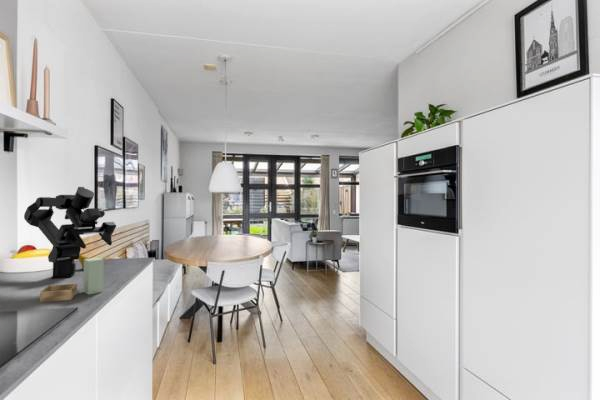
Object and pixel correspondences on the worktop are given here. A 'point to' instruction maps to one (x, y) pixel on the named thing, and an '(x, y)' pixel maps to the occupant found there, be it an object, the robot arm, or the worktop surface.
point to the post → (93, 275)
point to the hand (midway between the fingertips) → (98, 246)
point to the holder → (58, 292)
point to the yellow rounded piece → (82, 260)
